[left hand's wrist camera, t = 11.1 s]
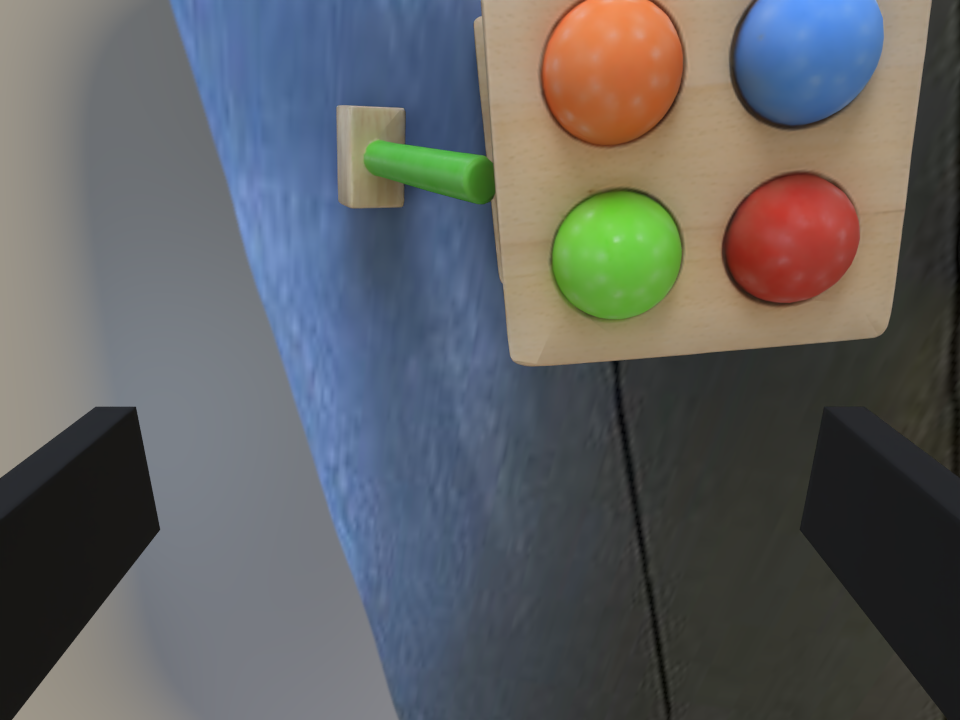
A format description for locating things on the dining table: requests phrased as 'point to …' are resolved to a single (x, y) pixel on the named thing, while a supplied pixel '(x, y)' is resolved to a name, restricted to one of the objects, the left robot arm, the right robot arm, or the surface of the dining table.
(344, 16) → the dining table surface
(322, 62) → the dining table surface
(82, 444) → the left robot arm
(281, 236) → the dining table surface
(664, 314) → the pounding bench toy
